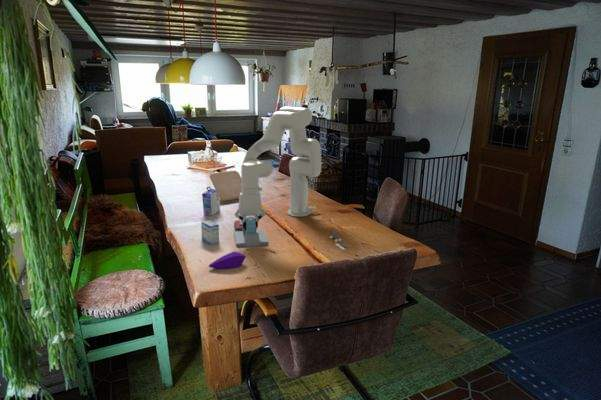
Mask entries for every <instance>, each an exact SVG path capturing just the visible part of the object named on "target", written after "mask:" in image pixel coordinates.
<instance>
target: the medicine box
mask: <svg viewBox="0 0 601 400" xmlns="http://www.w3.org/2000/svg"><path fill="white" fill-rule="evenodd" d="M200 224H201V226H200V228H201V230H200V231H201V240H202V241H204V242H205V243H207V244H209V245H215V244H218V243H220V225H219V224H218V223H216V222H213V221H212V220H205V221H201V222H200Z"/></svg>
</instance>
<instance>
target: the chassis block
mask: <svg viewBox="0 0 601 400" xmlns="http://www.w3.org/2000/svg"><path fill="white" fill-rule="evenodd" d="M233 235H234V240H235V241H234V242H235V246H236V247H237V248H238V247H239V248H240V247H253V246H254V247H257V246H258V247H259V246H268V245H269V241H268V237H267V235H266V232H265V230H264V229H257V230H256V233H247V234H246V231H245V230H244V228H243V231H235V230H234V231H233Z"/></svg>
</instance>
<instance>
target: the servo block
mask: <svg viewBox="0 0 601 400" xmlns="http://www.w3.org/2000/svg"><path fill="white" fill-rule="evenodd" d="M245 220H246V234H247V233H256V220H255V216H246V219H245Z"/></svg>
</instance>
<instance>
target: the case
mask: <svg viewBox="0 0 601 400" xmlns="http://www.w3.org/2000/svg"><path fill="white" fill-rule="evenodd" d="M209 179H210V181H211V183H212V185H213V188H214V189H216V190H219V202H220V205H223V204H229V203H236V202H239V196H240V193H242V175H240V173H239V172H238V171H237V170H226V171H220V172H219V171H218V172H213V173H210V174H209Z"/></svg>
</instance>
